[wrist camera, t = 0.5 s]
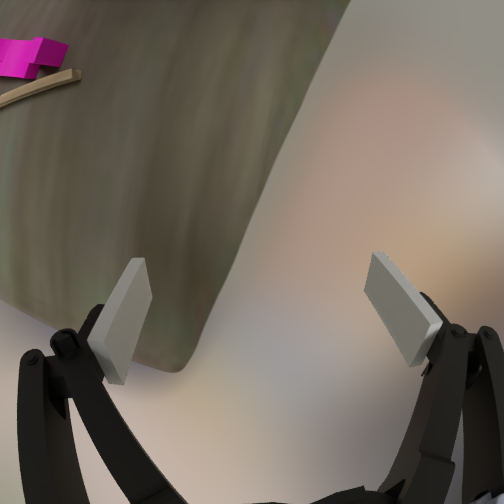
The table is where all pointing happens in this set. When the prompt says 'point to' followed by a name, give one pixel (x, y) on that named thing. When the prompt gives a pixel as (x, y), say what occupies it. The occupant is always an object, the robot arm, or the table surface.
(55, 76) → the brown wooden bar
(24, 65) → the toy block
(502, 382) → the robot arm
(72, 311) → the table surface
